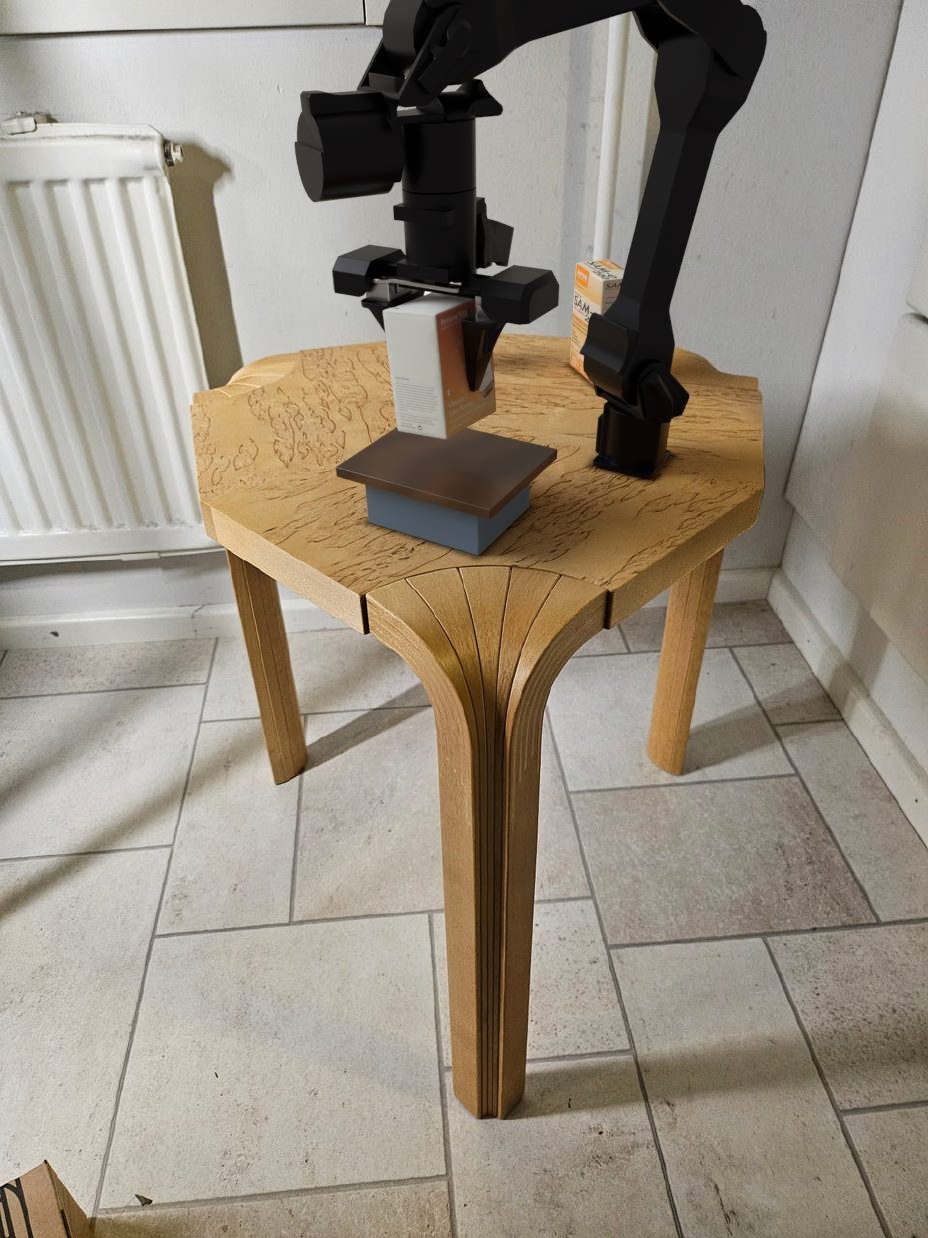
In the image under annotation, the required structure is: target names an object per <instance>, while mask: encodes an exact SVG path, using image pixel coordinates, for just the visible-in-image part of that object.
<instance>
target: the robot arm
mask: <svg viewBox="0 0 928 1238" xmlns="http://www.w3.org/2000/svg"><path fill="white" fill-rule="evenodd" d="M629 12H630V13H631V14H632V16H633V19H634V22H635V25H636V27H637V30H638V33H639V35H640V36H641V38H642V39H643V40H644V41H645V42H646V44H648V45H649V47H650V48H651V49H652V50H653V51H654V52H655V53H656V54H657V57H656V65H655V73H654V82H653V87H654V94H655V100H656V105H657V106H656V107H657V111H658V116H659V131H658V134H657V138H656V143H655V147H654V150H653V155H652V159H651V164H650V166H649V170H648V175H647V179H646V181H645V187H644V191H643V195H642V198H641V203H640V207H639V211H638V214H637V219H636V223H635V226H634V231H633V235H632V239H631V242H630V247H629V251H628V253H627V254H628V255H627V259H626V263H625V266H624V269H625V270H624V274H623V278H622V282H621V286H620V290H619V294H618V296H617V299H616V300H615V301H614V302H613V304H612V305H611V306H610V307H609V308H608V310H607V311H606V312H605V313H604V314H603V315H601V314H597V313H592V314H591V316H590V318H589V321H588V330H587V337H586V340H585V343H584V345H583V347H582V349H581V350H580V354H581V355H583V356H584V361H583V369H584V372H585V373H586V375H587V377H588V379H589V380H590V381H591V382H592V383H593V385H592V386H593V389H594V392H595V396H597V397H598V398H602V399H604V400H605V401H606V402H604V404H603V409H602V413H601V414H599V416H598V417H597V425H596V437H595V450H594V451H595V453H596V454H597V455H596V456H595V457H594V458H593V459H592V465H593V466H594V467H597V468H602V469H606V470H609V471H614V472H617V473H618V472H619V473H623V474H627V475H631V476H636V477H640V478H643V479H651V478H653V476H655V474H656V473H657V472H658V471H659V470H660V469H661V467H663V465H664V464H665V463H666V462H667V461H668V459H669V458H670V457H671V455H672V450H670V449H668V440H669V434H670V427H671V422H672V420H673V419H674V418H677V417H681V416H683V414H684V412H685V411H686V410H685V409H686V407H687V405H688V402H689V400H690V398H691V395H690V393H689V392H688V391H687V390H686V388H684V386H683V385H682V383H680V381H679V380H678V379H677V378H676V377H675V376H674V375H673V373H672V366H673V361H674V353H675V347H676V341H675V335H674V330H673V324H672V319H671V312H670V309H671V304H672V300H673V297H674V293H675V290H676V286H677V283H678V279H679V276H680V272H681V268H682V265H683V262H684V258H685V253H686V250H687V247H688V243H689V239H690V237H691V232H692V229H693V226H694V222H695V219H696V215H697V212H698V208H699V204H700V201H701V198H702V194H703V190H704V187H705V183H706V180H707V175H708V172H709V169H710V165H711V162H712V158H713V154H714V152H715V147H716V144H717V141H718V139H719V136H720V134H721V133H722V132H723V130H724V129H725V128H726V127H727V126H728V125H729V123H730V122H731V121H732V119H733V118H734V117H735V116H736V114H737V113H738V112H739V111H740V109H741V108H743V106H744V105H745V103H746V102H747V100H748V98H749V95H750V92H751V90H752V87H753V85H754V83H755V80H756V78H757V76H758V73H759V70H760V68H761V66H762V63H763V60H764V58H765V53H766V49H767V44H768V31H767V30H766V29H765V28H764V23H763V20H762V16H761V15H760V14H759V12H758V10H757V9H756V8H754V7H753V6H751V5H750V4H744V3H743V2H742V1H741V0H389V2H388V4H387V7H386V9H385V11H384V14H383V21H382V26H381V31H382V37H381V38H380V41H379V43H378V45H377V47H376V48H375V50H374V53H373V55H372V57H371V58H370V61H369V63H368V65H367V67H366V69H365V71H364V73H363V74H362V76H361V79H360V81H359V83H358V85H357V86H356V90H350V91H335V92H326V91H323V90H316V89H315V90H303V91H301V92H300V94H299V97H300V98H299V99H300V108H301V109H300V110H301V112H300V113H299V115H298V120H297V125H296V126H297V127H296V141H294V143H293V144H294V152H295V153H294V155H295V160H296V166H297V170H298V175H299V178H300V182H301V185H302V187H303V190H304V192H305V193H306V195H307V197H308V198H309V199H310V201H311V202H313V203H321V202H330V201H337V200H347V199H355V198H362V197H363V198H364V197H370V196H371V197H373V196H378V195H379V196H380V195H387V194H389V193H390V192H391V191H392V190H393V188H394V186H395V184H396V183H397V184H398V183H401V197H402V202H400V203H397V204H394V205H392V212H393V213H392V214H393V221H398V222H403V233H404V234H403V235H404V251H403V250H402V248H397V247H390V246H382V245H375V244H366V245H364V246H361V247H359V248H356V249H354V250H351V251H348V252H346V253H343V254H340V255H338V256H337V258H336V260H335V261H334V264H333V267H332V269H331V278H332V285H333V287H332V288H333V292H334V294H339V295H344V296H350V297H356V298H361V297H363V296H365V297H364V298H362V299H361V300H360V305H361V308H363V309H367V310H369V311H370V313H371V314H372V316H373V317H374V318H375V321H377V324H378V325H379V326H380V328H381V329H382V331H383V332H384V333H385V326H384V318H383V310H385V309H388V308H393V307H396V306H399V305H401V304H404V303H407V302H409V301H412V300H414V299H417V298H419V297H422V296H424V293H425V291H427V292H433V293H439V294H445V295H451V296H457V297H463V298H469V299H475V312H474V313H472V314H470V315H469V316H467V317H465V318H463V319H461V324H462V334H463V343H464V353H465V363H466V373H467V380H468V384H469V388H470V391H472V392H475V391H477V390H478V389H479V388H480V386H481V384H482V381H483V378H484V375H485V372H486V369H487V367H488V364H489V361H490V358H491V355H492V352H493V353H494V349H495V347H496V344H497V342H498V340H499V337H500V335H501V333H502V332H503V330H504V328H505V326H506V325H507V324H511V325H517V326H522V325H530V324H531V323H533V322H535V321H536V320H538V319H540V318H542V317H543V316H544V315H546V314H548V313H549V312H551V311H553V310H554V309H555V308H557V307H559V300H560V283H559V280H557V277H556V275H555V274H554V271H553V270H552V269H546V268H540V267H534V266H533V267H532V266H526V265H525V266H524V265H518V264H513V265H511V266H509V262H510V256H511V250H512V244H513V236H514V231H515V227H513V226H511V225H510V224H509V225H508V224H506V223H504V222H501V221H498V220H495V219H492V218H488V210H487V209H488V206H487V203H486V197H482V196H477V119H478V118H489V117H491V118H492V117H499V116H501V115H502V114H503V112H504V107H503V105H502V104H501V103H500V102H499V101H498V100H497V99H496V97H494V96H493V95H492V94H491V93H490V92H489V90H488V89H487V87H486V86H485V84H484V82H483V80H482V79H480V78H477V77H479V76H480V75H482V74H483V73H485V72H487V71H489V70H491V69H493V68H495V67H496V66H498V65H499V64H501V63H502V62H503V61H504V60H505V59H507V58H508V57H509V56H510V55H511V54H512V53H513V52H514V51H516V50H517V49H519V48H520V47H523V46H524V45H526V44H529V43H530V42H533V41H537V40H540V39H543V38H547V37H550V36H553V35H556V34H560V33H563V32H568V31H570V30H573V29H577V28H581V27H583V26H587V25H590V24H593V23H597V22H600V21H603V20H604V21H605V20H607V19H611V18H614V17H617V16H620V15H624V14H628V13H629ZM448 86H449V87H451V86H458V88H456V90H451V91H445V90H446V88H447V87H448ZM398 107H400V108H404V109H401V110H398ZM406 108H408V109H406ZM404 252H405V253H404ZM493 263H494V264H495V266H497V267H502V268H503V267H504V268H505V269H503V270H501V271H499V272H497V273H496V274H494V275H488V274H482V273H478V270H479V269H484V270H485V269H487V268H490V267H492V266H493ZM450 282H453V283H461V285H457V284H451V283H450Z"/></svg>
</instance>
